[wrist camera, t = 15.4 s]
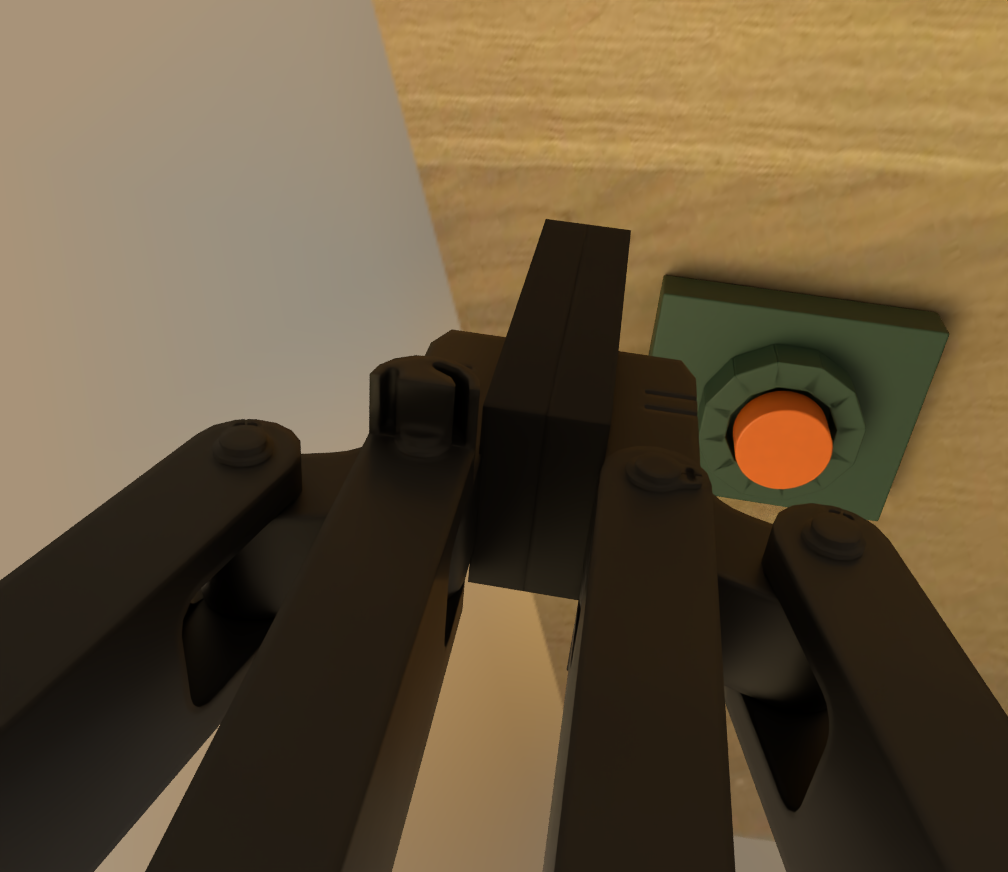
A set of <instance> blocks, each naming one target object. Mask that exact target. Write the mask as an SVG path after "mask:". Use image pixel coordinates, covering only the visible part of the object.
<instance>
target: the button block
mask: <svg viewBox="0 0 1008 872" xmlns="http://www.w3.org/2000/svg"><path fill="white" fill-rule="evenodd" d="M948 337H949V332H948V330H947V329H946V327H945V325H944V324H943V322H942V320H941V318H940V317H939V315H938V313H936V312H929V311H921V310H914V309H907V308H900V307H892V306H885V305H878V304H871V303H864V302H856V301H849V300H842V299H835V298H827V297H820V296H813V295H806V294H798V293H791V292H784V291H777V290H770V289H762V288H755V287H748V286H741V285H733V284H726V283H719V282H712V281H704V280H697V279H690V278H683V277H676V276H668V275H664V277H663V282H662V287H661V293H660V298H659V303H658V308H657V314H656V319H655V324H654V329H653V335H652V340H651V345H650V350H649V356H655V357H662V358H669V359H676V360H682V362H683V363H684V364H685V365H686V367H687V368H688V369H689V370H690V372H691V373H692V374H693V376H694V377H695V378H696V387H697V400H696V401H697V408H698V414H697V416H698V429H699V449H700V466H701V467H702V468H703V469H704V470H705V471H706V472H707V474H708V476H709V479H710V482H711V484H712V493H713V494H714V495H715V496H719V497H726V498H732V499H738V500H745V501H751V502H758V503H764V504H770V505H777V506H783V507H790V506H792V505H800V504H808V503H815V504H822V505H830V506H835V507H839V508H842V509H844V510H848V511H850V512H853V513H855V514H857V515H859V516H860V517H862V518H864V519H866V520H872V521H878V520H879V517H880V515H881V512H882V509H883V507H884V504H885V502H886V499H887V496H888V494H889V491H890V488H891V486H892V483H893V481H894V478H895V475H896V473H897V470H898V468H899V465H900V462H901V460H902V457H903V454H904V452H905V449H906V447H907V444H908V441H909V439H910V436H911V433H912V431H913V428H914V426H915V423H916V420H917V418H918V415H919V413H920V410H921V407H922V405H923V402H924V399H925V397H926V394H927V392H928V389H929V386H930V384H931V381H932V379H933V376H934V373H935V371H936V368H937V365H938V363H939V360H940V358H941V355H942V352H943V350H944V347H945V344H946V342H947V339H948ZM774 391H792V392H797V393H800V394H803V395H805V396H807V397H809V398H810V399H812V400H813V401H815V402H816V403H817V404H818V405H819V406H820V408H821V409H822V410H823V412H824V414H825V416H826V420H827V423H828V427H829V431H830V434H831V438H832V443H833V450H832V456H831V459H830V461H829V463H828V465H827V466H826V468H825V469H824V470H823V472H822V473H821V474H820V475H819V476H817V477H816V478H815V479H814V480H812V481H810V482H808V483H806V484H804V485H802V486H798V487H795V488H789V489H773V488H768V487H764V486H761V485H759V484H757V483H755V482H753V481H752V480H750V479H749V478H748V477H747V476H746V475H745V474H744V473H743V472H742V471H741V469H740V468H739V466H738V464H737V461H736V458H735V449H734V440H733V426H734V422H735V419H736V417H737V415H738V414H739V412H740V411H741V409H742V408H743V407H744V406H745V405H746V404H747V403H749V402H750V401H751V400H753V399H754V398H756V397H758V396H760V395H763V394H765V393H769V392H774Z"/></svg>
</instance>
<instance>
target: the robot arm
mask: <svg viewBox="0 0 1008 872" xmlns="http://www.w3.org/2000/svg"><path fill="white" fill-rule="evenodd" d="M630 234H631V230H624V229H617V228H609V227H602V226H594V225H587V224H579V223H572V222H564V221H557V220H549V219H546V220H545V223H544V226H543V229H542V232H541V235H540V238H539V241H538V244H537V247H536V250H535V253H534V256H533V259H532V262H531V265H530V268H529V271H528V274H527V277H526V280H525V283H524V285H523V288H522V291H521V294H520V297H519V300H518V303H517V306H516V309H515V312H514V315H513V318H512V321H511V324H510V327H509V330H508V333H507V336H506V337H500V336H493V335H486V334H479V333H472V332H465V331H458V330H450V331H449V332H447V333H446V334H444V335H442V336H441V337H439V338H438V339H436V340H435V341H433V342H431V344H430V346H429V348H428V350H427V352H426V354H425V356H417V355H415V356H408V357H401V358H395V359H392V360H390V361H388V362H385V363H383V364H380V365H379V366H378V367H377V368H376V369H374V370H373V371H372V372H371V373H370V406H369V409H370V410H369V413H370V414H369V416H370V417H369V434H368V437H367V438H366V441H365V443H364V444H363V446H362V447H360V448H356V449H353V450H349V451H342V452H333V453H312V454H301V446H300V440H299V439H298V438H297V436H296V435H295V434H294V433H293V432H292V431H291V430H290V429H287V428H285V427H283V426H281V425H279V424H277V423H274V422H268V421H263V420H257V419H248V420H245V419H241V420H233V421H229V422H225V423H221V424H217V425H213V426H211V427H209V428H208V429H206V430H204V431H202V432H200V433H198V434H197V435H195V436H194V437H192V438H191V439H190V440H188V441H187V442H186V443H184V444H183V445H182V446H180V447H179V448H178V449H176V450H175V451H174V452H172V453H171V454H170V455H168V456H167V457H166V458H164V459H163V460H162V461H160V462H159V463H157V464H156V465H155V466H153V467H152V468H151V469H150V470H148V471H147V472H146V473H144V474H143V475H141V476H140V477H139V478H137V479H136V480H135V481H133V482H132V483H131V484H129V485H128V486H127V487H125V488H124V489H123V490H121V491H120V492H118V493H117V494H116V495H114V496H113V497H112V498H110V499H109V500H108V501H106V502H105V503H104V504H102V505H101V506H100V507H98V508H97V509H96V510H94V511H93V512H92V513H90V514H89V515H88V516H86V517H85V518H83V519H82V520H81V521H80V522H78V523H77V524H75V525H74V526H73V527H71V528H70V529H69V530H68V531H66V532H65V533H64V534H62V535H61V536H59V537H58V538H57V539H55V540H54V541H53V542H51V543H50V544H49V545H47V546H46V547H45V548H43V549H42V550H40V551H39V552H38V553H37V554H35V555H34V556H32V557H31V558H30V559H28V560H27V561H26V562H24V563H23V564H22V565H20V566H19V567H18V568H16V569H15V570H14V571H12V572H11V573H10V574H8V575H7V576H6V577H4V578H3V579H1V580H0V872H94V871H95V870H96V869H97V867H98V866H99V865H100V864H101V863H102V861H103V860H104V859H105V858H106V857H107V856H108V855H109V853H110V852H111V851H112V850H113V849H114V848H115V846H116V845H117V844H118V843H119V842H120V841H121V839H122V838H123V837H124V836H125V835H126V834H127V832H128V831H129V830H130V829H131V828H132V827H133V825H134V824H135V823H136V822H137V821H138V820H139V818H140V817H141V816H142V815H143V814H144V813H145V811H146V810H147V809H148V808H149V807H150V805H151V804H152V803H153V802H154V801H155V800H156V799H157V797H158V796H159V795H160V794H161V793H162V792H163V790H164V789H165V788H166V787H167V786H168V785H169V783H170V782H171V781H172V780H173V779H174V778H175V776H176V775H177V774H178V773H179V772H180V770H181V769H182V768H183V767H184V766H185V765H186V764H187V762H188V761H189V760H190V759H191V758H192V757H193V755H194V754H195V753H196V752H197V751H198V750H199V748H200V747H201V746H202V745H203V744H204V742H205V741H206V740H207V739H208V738H209V737H210V736H211V734H212V733H213V732H214V731H215V730H216V729H217V727H218V726H219V725H220V726H219V728H218V730H217V732H216V734H215V736H214V738H213V740H212V742H211V744H210V746H209V748H208V750H207V752H206V754H205V756H204V758H203V760H202V762H201V764H200V766H199V767H198V769H197V771H196V773H195V775H194V777H193V779H192V781H191V783H190V785H189V787H188V789H187V791H186V793H185V795H184V797H183V799H182V801H181V803H180V805H179V807H178V809H177V810H176V812H175V814H174V816H173V818H172V820H171V822H170V824H169V826H168V828H167V830H166V832H165V834H164V836H163V838H162V840H161V842H160V844H159V846H158V848H157V850H156V852H155V854H154V855H153V858H152V860H151V861H150V863H149V866H148V867H147V869H146V871H145V872H392V868H393V865H394V861H395V857H396V854H397V850H398V846H399V842H400V839H401V835H402V831H403V828H404V824H405V820H406V817H407V813H408V809H409V805H410V802H411V798H412V794H413V790H414V787H415V783H416V779H417V776H418V772H419V768H420V765H421V761H422V757H423V753H424V750H425V746H426V742H427V739H428V735H429V731H430V728H431V723H432V720H433V716H434V712H435V709H436V705H437V702H438V698H439V694H440V690H441V686H442V683H443V679H444V675H445V672H446V668H447V665H448V661H449V657H450V653H451V650H452V646H453V642H454V639H455V635H456V631H457V627H458V624H459V619H460V616H461V613H462V607H463V595H464V583H465V577H466V573H467V570H468V567H469V577H468V582H472V583H478V584H484V585H490V586H496V587H503V588H508V589H514V590H520V591H526V592H532V593H538V594H544V595H550V596H556V597H562V598H568V599H574V600H579V601H578V607H577V613H576V619H575V624H574V630H573V636H572V642H571V648H570V653H569V659H568V665H567V670H568V678H567V686H566V694H565V701H564V709H563V717H562V725H561V733H560V741H559V748H558V756H557V764H556V772H555V779H554V788H553V795H552V803H551V811H550V818H549V826H548V834H547V842H546V851H545V857H544V865H543V872H735V859H734V842H733V826H732V809H731V793H730V776H729V759H728V743H727V726H726V710H725V703H726V706H727V709H728V712H729V714H730V717H731V720H732V723H733V725H734V728H735V731H736V734H737V736H738V739H739V742H740V745H741V748H742V750H743V753H744V756H745V759H746V761H747V764H748V767H749V770H750V772H751V775H752V778H753V781H754V784H755V786H756V789H757V792H758V795H759V797H760V800H761V803H762V806H763V808H764V811H765V814H766V817H767V820H768V822H769V825H770V828H771V831H772V833H773V836H774V839H775V842H776V844H777V847H778V850H779V853H780V856H781V858H782V861H783V864H784V867H785V869H786V872H1008V716H1007V715H1006V713H1005V712H1004V710H1003V709H1002V707H1001V706H1000V704H999V703H998V701H997V700H996V698H995V697H994V695H993V694H992V692H991V691H990V689H989V688H988V686H987V685H986V683H985V682H984V680H983V679H982V677H981V676H980V674H979V673H978V671H977V670H976V668H975V667H974V665H973V664H972V662H971V661H970V659H969V658H968V657H967V655H966V654H965V652H964V651H963V649H962V648H961V646H960V645H959V643H958V642H957V640H956V639H955V637H954V636H953V634H952V633H951V631H950V630H949V628H948V627H947V625H946V624H945V622H944V621H943V619H942V618H941V616H940V615H939V613H938V612H937V610H936V609H935V607H934V606H933V604H932V603H931V601H930V600H929V598H928V597H927V595H926V594H925V592H924V591H923V590H922V588H921V587H920V585H919V584H918V582H917V581H916V579H915V578H914V576H913V575H912V573H911V572H910V570H909V569H908V567H907V566H906V564H905V563H904V561H903V560H902V558H901V557H900V555H899V554H898V552H897V551H896V549H895V548H894V546H893V545H892V543H891V542H890V540H889V539H888V538H887V537H886V536H885V535H884V534H883V533H882V532H881V531H880V530H879V529H878V528H877V527H876V526H875V525H874V524H872V523H870V522H869V521H867V520H865V519H864V518H862V517H860V516H859V515H857V514H855V513H853V512H850V511H848V510H844V509H842V508H839V507H835V506H830V505H822V504H815V503H808V504H800V505H792V506H790V507H788V508H787V509H785V510H783V511H781V512H779V513H778V515H777V517H776V519H775V521H774V523H773V524H771V523H768V522H765V521H762V520H760V519H757V518H754V517H752V516H749V515H747V514H744V513H742V512H740V511H738V510H735V509H733V508H732V507H730V506H728V505H727V504H725V503H724V502H722V501H721V500H719V499H718V498H717V497H716V496H715V495H714V494H713V493H712V484H711V482H710V479H709V476H708V474H707V472H706V471H705V470H704V469H703V468H702V467H701V466H700V449H699V429H698V416H697V414H698V408H697V401H696V400H697V387H696V378H695V377H694V376H693V374H692V373H691V372H690V370H689V369H688V368H687V367H686V365H685V364H684V363H683V362H682V360H676V359H669V358H662V357H655V356H648V355H641V354H634V353H627V352H620V351H618V349H619V340H620V330H621V321H622V311H623V301H624V292H625V282H626V272H627V263H628V253H629V244H630ZM469 563H470V566H469Z"/></svg>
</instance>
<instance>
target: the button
mask: <svg viewBox="0 0 1008 872" xmlns="http://www.w3.org/2000/svg"><path fill="white" fill-rule="evenodd" d="M733 440H734V449H735V458H736V461H737V464H738V466H739V468H740V469H741V471H742V472H743V473H744V474H745V475H746V476H747V477H748V478H749V479H750V480H752V481H753V482H755V483H757V484H759V485H761V486H764V487H768V488H773V489H789V488H795V487H798V486H802V485H804V484H806V483H808V482H810V481H812V480H814V479H815V478H816V477H817V476H819V475H820V474H821V473H822V472H823V470H824V469H825V468H826V466H827V465H828V463H829V461H830V459H831V456H832V450H833V443H832V438H831V434H830V431H829V427H828V423H827V420H826V416H825V414H824V412H823V410H822V409H821V408H820V406H819V405H818V404H817V403H816V402H815V401H813V400H812V399H810V398H809V397H807V396H805V395H803V394H800V393H797V392H792V391H774V392H769V393H765V394H763V395H760V396H758V397H756V398H754V399H753V400H751V401H750V402H749V403H747V404H746V405H745V406H744V407H743V408H742V409H741V411H740V412H739V414H738V415H737V417H736V419H735V422H734V426H733Z"/></svg>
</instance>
